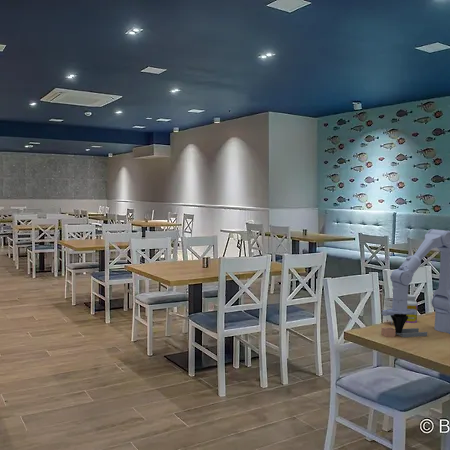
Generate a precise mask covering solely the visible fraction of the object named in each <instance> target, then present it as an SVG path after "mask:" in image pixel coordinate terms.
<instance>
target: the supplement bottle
mask: <svg viewBox="0 0 450 450" xmlns="http://www.w3.org/2000/svg"><path fill="white" fill-rule="evenodd" d="M416 299H417V298H416V295H414V294H409V293H408V301H407V309H415V310H417V311H418V306H419V305H418V302H417V301H416ZM406 316H408V319H407V321H406V322H405V323H408V324H415V323H418V314H417V315H414V314H411V315H406Z"/></svg>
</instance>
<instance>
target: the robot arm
mask: <svg viewBox="0 0 450 450" xmlns="http://www.w3.org/2000/svg"><path fill="white" fill-rule="evenodd" d="M434 248H435V249H436V248H437V249H438V250H439V251H440V263H439V264H440V265H439V276H438V278H439V279H438V288H436V289H435V290H434V291H433V294H432V295H433V296H432V298H431V302H430V303H431V305H432V306H431V307H433V311H435V312H434V313H435V315H434V330H435V331H438V332H440V333H446V334H449V335H450V230H443V229H436V228H431V229H429V230H428V231H427V232H426V233H425V234H424V240H423V241H422V243H420V245H419V247H418V248H417V249H416V251H415V252H414V254H413V255H408V256H407V257H405V260H404V261H403V262H402V263H401V265H400V266H399V268H397V269H394V270H393V271H392V272H391V275H389V276H390V277H389V278H390V281H391V286H392V298H393V301H392V309H388V310H387V309H382V310H381V316H384V317H386V316H390V319H391V318H392V324H393V326H394V329H395V330H396V332H397V333H401V332H402V329H404V327H405V324H406V323H407V322H406V321H407V319H408V316H406V315H411V314H414V315H417V316H418V309H417V310H415V309H407V301H408V294H409V285H410V283H412V281H413V277H414V274H415V273H416V271H418V269H419V268H420V266H421V265H422V260H423V259H424V258H425V257H426V256H427V254H429V253H430V252H431V250H432V249H434Z"/></svg>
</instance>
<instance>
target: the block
mask: <svg viewBox="0 0 450 450" xmlns="http://www.w3.org/2000/svg"><path fill="white" fill-rule="evenodd" d="M380 330H381V331H380V332H381V335H382V336H384V337H386V338H390V337H391V338H393V337H396V334H395V331H396V330H395V328H393V327H390V326H388V327H381V329H380Z"/></svg>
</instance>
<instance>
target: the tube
mask: <svg viewBox="0 0 450 450" xmlns="http://www.w3.org/2000/svg"><path fill="white" fill-rule="evenodd" d="M419 330H420V328H418V327H417V328H415V327H413V328H412V327H411V328H410V327H409V328H403V329H402V332H401V333H397V332H396V331H395V335H398V336H400V337H401V338H415V337H416V338H417V337H428V331H422V332H421V331H419Z"/></svg>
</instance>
